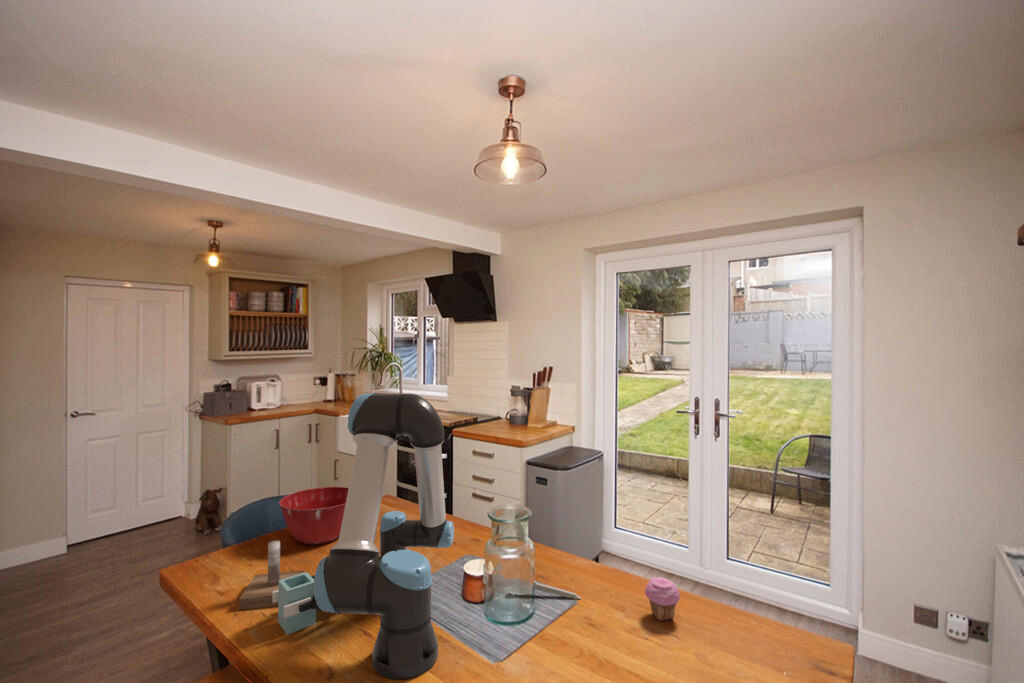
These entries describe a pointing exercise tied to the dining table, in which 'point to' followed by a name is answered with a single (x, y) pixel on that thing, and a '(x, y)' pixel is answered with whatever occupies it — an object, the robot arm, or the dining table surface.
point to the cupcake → (662, 597)
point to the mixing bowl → (315, 513)
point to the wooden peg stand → (265, 582)
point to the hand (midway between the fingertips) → (278, 604)
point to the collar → (291, 593)
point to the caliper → (555, 591)
